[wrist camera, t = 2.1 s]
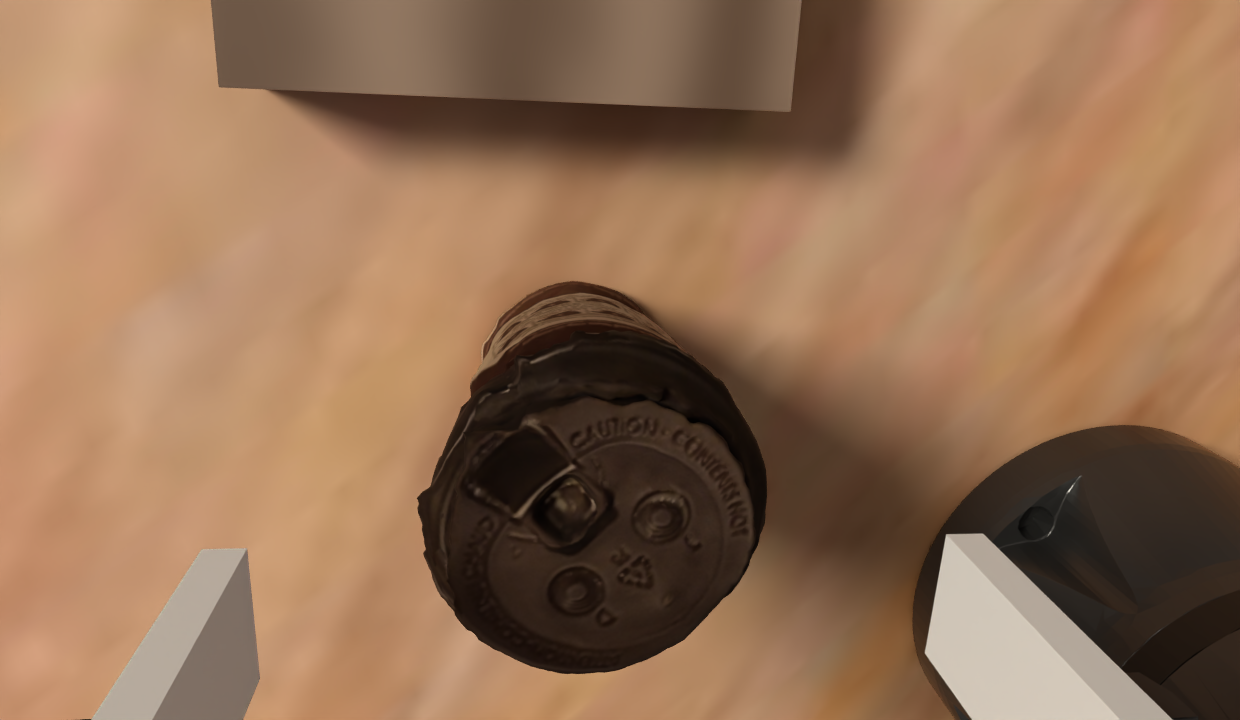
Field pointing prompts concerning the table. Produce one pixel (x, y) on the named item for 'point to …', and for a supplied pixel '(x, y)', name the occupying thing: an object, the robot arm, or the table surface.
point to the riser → (517, 49)
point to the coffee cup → (591, 487)
